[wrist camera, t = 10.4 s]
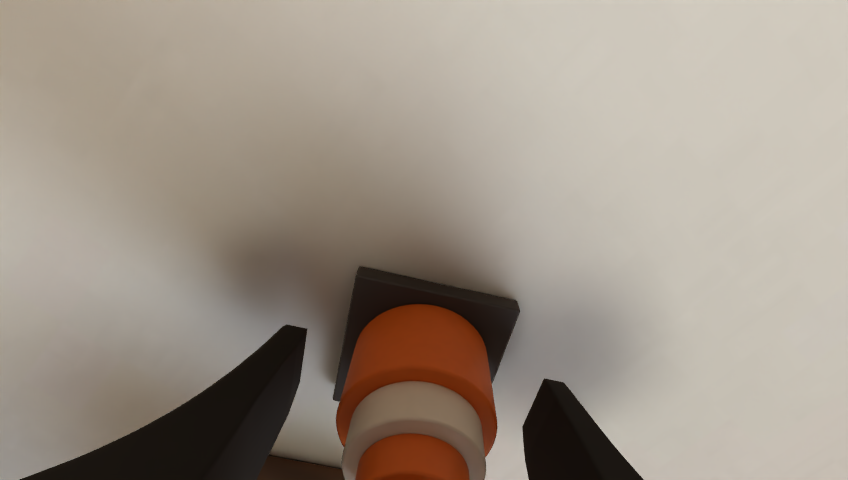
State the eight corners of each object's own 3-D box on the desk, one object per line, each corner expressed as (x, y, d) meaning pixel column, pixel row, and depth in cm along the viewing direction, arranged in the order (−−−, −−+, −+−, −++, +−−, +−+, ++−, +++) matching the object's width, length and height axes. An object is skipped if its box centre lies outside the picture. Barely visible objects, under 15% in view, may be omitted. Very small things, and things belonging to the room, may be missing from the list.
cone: (336, 387, 15) (260, 636, 9) (359, 265, 13) (283, 475, 7) (473, 415, 16) (497, 676, 9) (517, 300, 13) (586, 532, 7)
